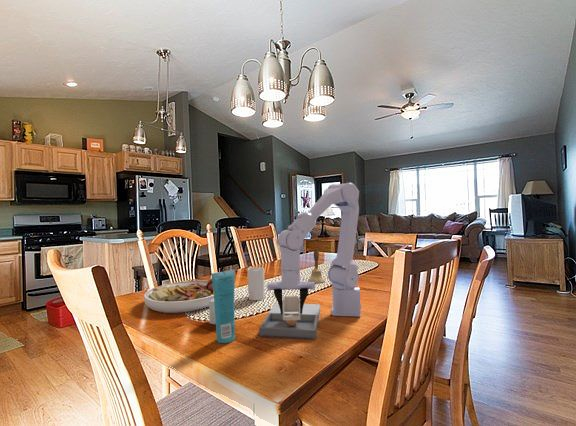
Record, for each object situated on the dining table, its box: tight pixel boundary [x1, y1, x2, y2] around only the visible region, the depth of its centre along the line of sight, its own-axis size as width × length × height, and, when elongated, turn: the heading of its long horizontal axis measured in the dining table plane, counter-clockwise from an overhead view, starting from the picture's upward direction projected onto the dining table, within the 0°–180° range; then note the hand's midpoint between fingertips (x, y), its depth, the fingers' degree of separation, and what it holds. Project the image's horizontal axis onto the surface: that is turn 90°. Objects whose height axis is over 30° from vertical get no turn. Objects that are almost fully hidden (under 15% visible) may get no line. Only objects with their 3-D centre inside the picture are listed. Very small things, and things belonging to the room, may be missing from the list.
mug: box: [247, 266, 265, 301], centre depth 123 cm, size 10×7×12 cm, turn 21°
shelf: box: [268, 302, 321, 323], centre depth 102 cm, size 16×10×2 cm, turn 81°
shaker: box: [282, 295, 300, 320], centre depth 94 cm, size 5×7×5 cm
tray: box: [258, 312, 319, 340], centre depth 91 cm, size 16×12×2 cm
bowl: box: [143, 277, 214, 314], centre depth 119 cm, size 30×30×8 cm
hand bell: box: [307, 247, 326, 284], centre depth 147 cm, size 8×8×16 cm
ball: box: [286, 314, 297, 326], centre depth 92 cm, size 3×3×3 cm
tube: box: [210, 269, 236, 344], centre depth 84 cm, size 7×5×19 cm, turn 140°
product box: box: [208, 299, 235, 325], centre depth 98 cm, size 6×6×7 cm
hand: (291, 312), depth 94 cm, fingers closed on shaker, 5 cm apart
